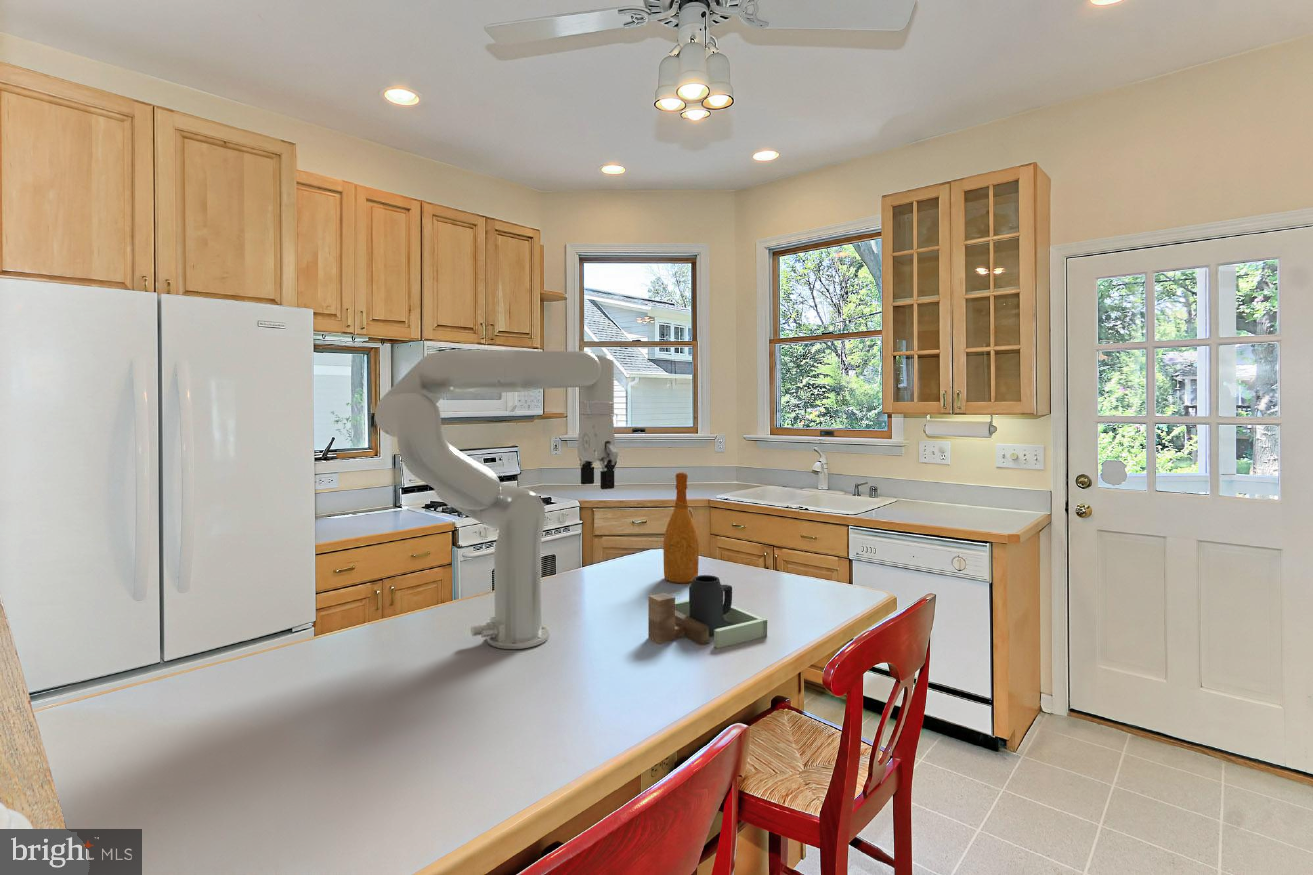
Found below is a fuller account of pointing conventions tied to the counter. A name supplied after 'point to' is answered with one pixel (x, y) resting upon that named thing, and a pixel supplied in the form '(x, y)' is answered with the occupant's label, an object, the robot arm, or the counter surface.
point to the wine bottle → (681, 539)
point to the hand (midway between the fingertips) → (597, 486)
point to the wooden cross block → (672, 622)
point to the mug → (709, 601)
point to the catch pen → (743, 629)
